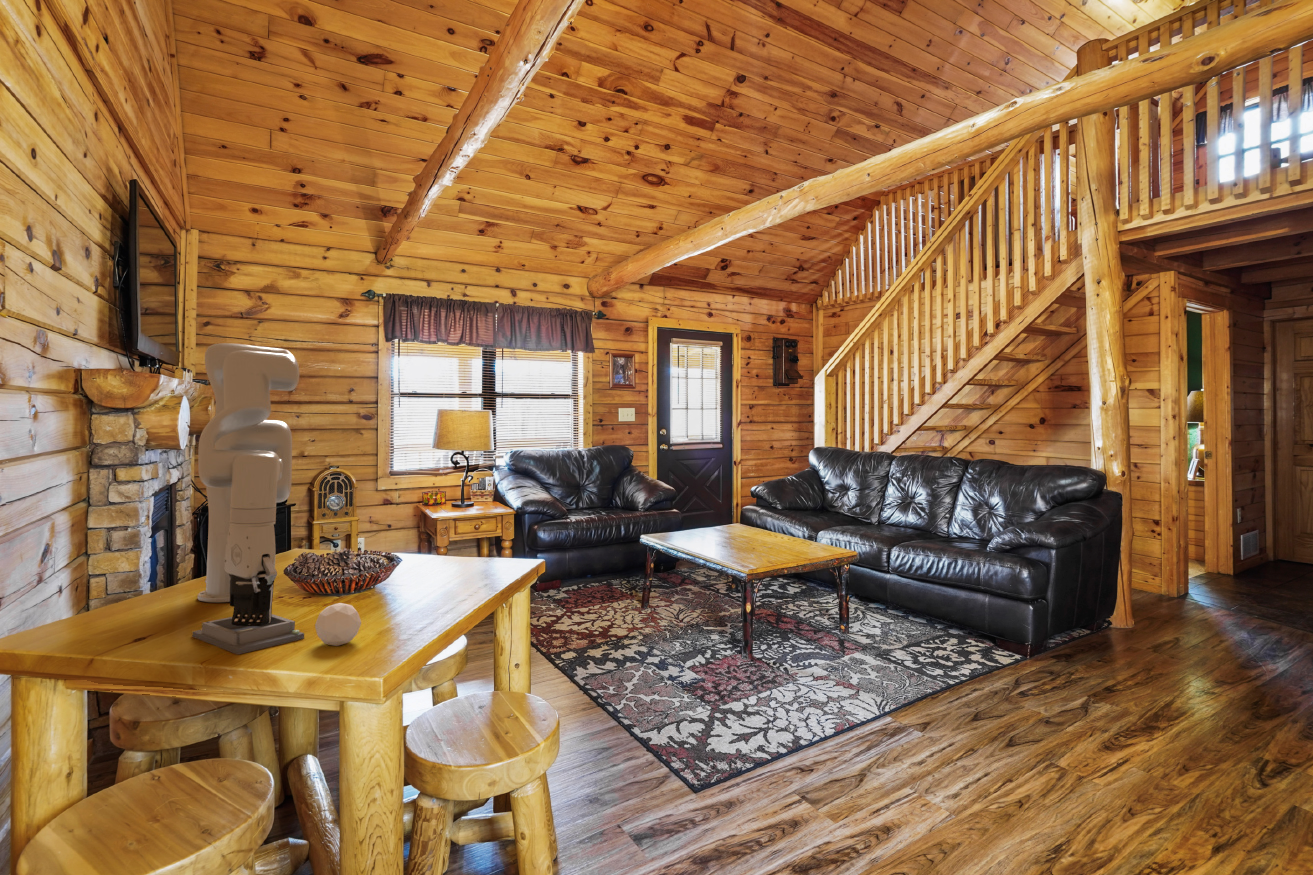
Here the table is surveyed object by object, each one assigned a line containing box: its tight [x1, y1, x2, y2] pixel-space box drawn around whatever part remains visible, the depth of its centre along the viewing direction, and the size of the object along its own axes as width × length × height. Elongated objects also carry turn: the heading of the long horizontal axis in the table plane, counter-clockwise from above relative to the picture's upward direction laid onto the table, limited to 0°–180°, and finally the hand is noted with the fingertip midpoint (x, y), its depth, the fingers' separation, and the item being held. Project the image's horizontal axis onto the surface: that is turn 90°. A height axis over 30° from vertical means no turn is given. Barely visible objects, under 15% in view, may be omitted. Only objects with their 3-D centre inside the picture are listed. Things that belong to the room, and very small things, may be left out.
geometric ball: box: [314, 602, 362, 647], centre depth 124 cm, size 8×8×8 cm
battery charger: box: [230, 571, 275, 626], centre depth 125 cm, size 7×4×11 cm, turn 91°
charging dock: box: [191, 613, 305, 655], centre depth 125 cm, size 17×12×3 cm
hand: (249, 607), depth 125 cm, fingers closed on battery charger, 7 cm apart
